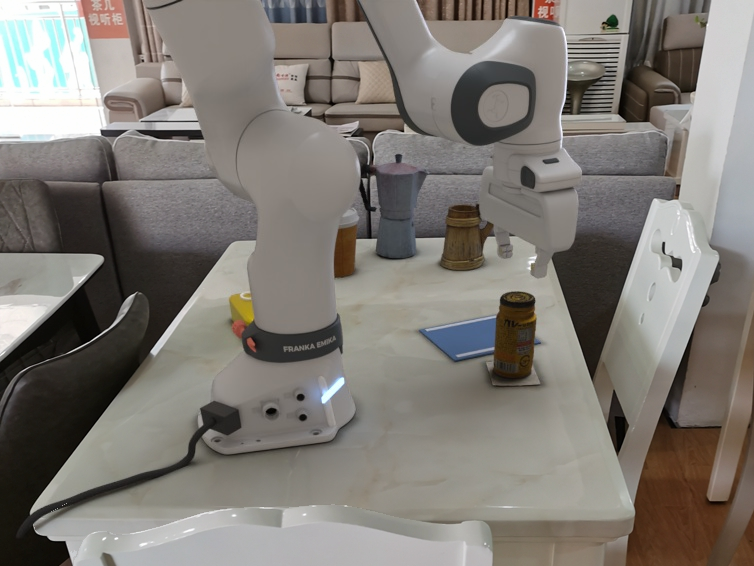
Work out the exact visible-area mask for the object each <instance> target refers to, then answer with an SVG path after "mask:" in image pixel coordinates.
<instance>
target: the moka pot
mask: <svg viewBox="0 0 754 566" xmlns="http://www.w3.org/2000/svg"><path fill="white" fill-rule="evenodd" d="M394 157H395V162H388V163H383V164H381V165H378V164H368V163H365V162H364V163H363V164H362V165H360V171H361V178H360V186H359V190H358V191H359V194H360V197H361V199H362V203H363V206H364V209H365V211H367V212H371V213H375V212H376V211H377V209H378V208H377V207H376V206H371V205H370V202H369V200H368V196H367V191H366V187H365V185H364V180H363V178H362V177H363V175H364V174H367V175H369V176H375V182H376V191H377V199H378V200H377V201H378V205H379V209H378V210H379V212H380V216H379V221H378V222H379V223H378V228H377V229H378V230H377V237H376V243H375V252H376V254H377V255H379V256H381V257H384V258H388V259H407V258H410V257H411V258H412V257H414V256H415V255H416V253H417V241H416V230H415V225H416V224H415V219H414V216H415V208H416V207H417V203H418V197H419V193H420V191H421V189H422V187H423V185H424V182H425V180H426V178H427V176H428V175H430V172H429V170H427V169H426V168H423V167H421V166H418V165H416V164H412V163H407V162H402V160H403V154H401V153H396V154H394Z"/></svg>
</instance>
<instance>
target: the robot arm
mask: <svg viewBox="0 0 754 566" xmlns="http://www.w3.org/2000/svg"><path fill="white" fill-rule="evenodd" d="M141 1H142V3H143V6H144V7H145V9H146V11H147V13H148V16H149V17H150V18H151V21H152V23H153V25H154V27H155V28H156V30H157V32H158V34H159V37H160V38H161V40H162V42H163V44H164V46H165V47H166V50H167V51H168V54H169V55H170V58H171V59H172V62H173V63H174V65H175V68H176V69H177V72H178V73H179V75H180V77H181V79H182V81H183V83H184V85H185V87H186V90H187V93H188V95H189V98H190V101H191V103H192V107H193V110H194V113H195V116H196V119H197V122H198V126H199V128H200V131H201V135H202V137H203V139H204V140H203V150H204V156H205V160H206V163H207V166H208V168H209V170H210V171H211V173H212V174H213V175H214V177H215V178H216V179H217V180H218V181H219V182H220V184H221V185H222V186H224V187H225V189H226V190H228V191H229V192H230V193H231V194H233V195H234V196H235V197H238V198H239V199H242V200H244V201H246V202H249V203H251V204H253V206H254V208H255V211H256V215H257V228H256V239H255V245H254V249H253V251H252V253H251V254H250V255H249V257H248V260H247V263H246V271H247V278H248V279H247V280H248V285H249V291H250V293H251V300H252V307H253V314H254V319H253V321H252V322H251V323H250V324H249V325H248V326H247V325H246V323H245V322H244V321H242V320H236V321H235V322H233V323H232V324H231V330H232V332H233V333H234V334H235V336H236V337H237V338H238V339H241V343H242V347H243V350H242V351H240V353H239V354H237V356H235V357H234V358H233V360H231V362H229V363H228V364H226V366H225V367H224V368H223V369H221V370H220V372H218V373H217V374H216V375H215V376H214V378H213V380H212V383H211V389H210V402H209V403H207V404H205V405H203V406H201V407H199V412H198V415H197V427H198V429H197V430H196V431H195V432H194V433H193V434H192V436H191V438H190V439H189V442H188V447H187V454H186V455H185V456H184V457H182V458H181V460H179V461H177V462H176V463H174V464H172V465H169V466H165V467H162V468H158V469H153V470H148V471H144V472H141V473H137V474H135V475H131V476H128V477H126V478H125V477H124V478H122V479H119V480H115V481H112V482H109V483H106V484H102V485H99V486H95V487H93V488H90V489H87V490H85V491H81V492H80V493H77V494H75V495H73V496H69V497H68V498H64V499H62V500H59V501H55V502H52V503H49V504H47V505H44V506H41V507H40V508H38V509H37V510H35V511H33V512H32V513H31V514H30V515H29V516H27V518H26V519H25V520H24V521H23V522H22V524H21V525H20V527H19V529H18V530H17V532H16V535H15V538H16V539H23V538H24V537H26V536H27V535H28V532H29V530H30V529H31V528H32V526H33V525H35V523H36V522H37V521H39V520H40V519H41V518H43V517H44V516H46V515H48V514H51V513H53V512H56V511H58V510H62V509H64V508H67V507H71V506H73V505H75V504H78V503H81V502H83V501H86V500H88V499H90V498H93V497H96V496H99V495H102V494H105V493H108V492H111V491H115V490H118V489H122V488H124V487H127V486H130V485H133V484H134V485H135V484H136V483H139V482H142V481H146V480H149V479H154V478H155V479H156V478H159V477H162V476H164V475H167V474H170V473H173V472H175V471H178V470H180V469H183V468H185V467H186V466H188V465H189V464H190V463H191V462H192V461H193V460H194V458H195V456H196V452H197V450H196V449H197V444H198V442H199V441H200V439H201V438H202V440H203V442H204V443H205V444H206V445H207V446H208V447H209V448H210V449H212V450H214V451H215V452H217V453H219V454H222V455H235V454H243V453H251V452H258V451H266V450H274V449H281V448H290V447H296V446H305V445H311V444H319V443H320V444H321V443H327V442H331V441H333V439H335V437H336V436H337V433H338V431H339V430H340V429H341V428H342V427H344V426H345V425H346V424H348V423H349V422H350V421H351V420H352V419H353V418H354V416H355V414H356V412H357V411H356V410H357V409H356V404H355V402H354V399H353V397H352V394H351V391H350V388H349V385H348V380H347V376H346V373H345V367H344V362H343V357H342V355H343V354H344V348H343V347H344V346H343V345H344V333H343V326H342V322H341V321H342V320H341V315H340V314H339V313H337V310H338V309H337V298H336V280H335V277H334V251H335V243H336V238H337V233H338V228H339V224H340V221H341V218H342V216H343V215H344V214H345V213H346V212H347V211H348V209H349V208H350V207H352V206H353V204H354V202H355V200H356V199H357V197H358V193H359V191H360V190H359V186H360V178H362V177H361V171H360V169H361V164H360V160H359V157H358V154H357V152H356V150H355V148H354V146H353V145H352V143H351V142H350V141H349V140H348V139H347V138H346V137H344V136H343V135H342V134H341V133H340V132H338V131H337V130H336V129H335V128H333V127H331V126H330V125H329V124H327V123H326V122H324V121H322V120H321V119H318V118H315V117H311V116H307V115H303V114H300V113H299V114H298V113H295V112H292V110H290V108H289V107H288V106H287V104H286V102H285V101H284V99H283V97H282V93H281V91H280V86H279V83H278V78H277V73H276V68H275V61H274V60H275V59H274V55H275V52H276V48H277V40H276V35H275V31H274V28H273V27H272V24H271V22H270V20H269V17H268V14H267V13H266V10H265V7H264V6H263V2H262V1H261V0H141ZM355 1H356V4H357V5H358V7H359V10H360V11H361V14H362V16H363V18H364V20H365V22H366V24H367V26H368V29H369V30H370V32H371V34H372V36H373V38H374V40H375V42H376V44H377V46H378V48H379V50H380V52H381V55H382V56H383V59H384V61H385V63H386V65H387V68H388V71H389V75H390V78H391V84H392V89H393V95H394V100H395V105H396V108H397V112H398V113H399V117H400V118H401V120H402V121H403V122H404V124H405V126H407V127H408V128H409V129H410V130H411V131H413V132H414V133H416V134H418V135H420V136H427V137H434V138H441V139H444V140H447V141H451V142H454V143H459V144H462V145H466V146H470V147H483V146H489V145H492V144H493V150H492V152H491V153H490V155H489V157H488V158H487V160H486V167H485V168H484V169H483V171H482V175H481V181H480V191H479V201H478V203H479V210H480V214H481V215H480V217H481V219H482V220H484V221H486V222H487V221H488V222H490V223H492V224H494V227H493V229H492V230H493V234H494V238H495V242H496V245H497V246H496V247H497V248H496V249H497V250H496V255H497V256H498V257H499V258H501V259H503V260H507V259H511V258H513V253H514V252H513V250H514V245H513V244H512V243H511V238H510V237H511V236H510V234H511V235H513V236H515V237H517V238H519V239H521V240H523V241H525V242H527V243H529V245H532V246H534V247H535V248H534V250H535V251H534V253H535V254H536V257H535V260H534V262H531V263H530V272H529V273H530V275H531V276H532V277H533V278H535V279H543V278H545V277H546V276H547V274H548V265H549V264H550V262H551V260H552V258H553V256H554V253H559V252H564V251H568V250H570V248H571V247H572V245H573V244H574V243H575V238H576V234H577V233H576V232H577V225H578V213H579V195H578V191H577V190H576V188H575V187H579V186H580V185H581V184H582V179H583V171H582V168H581V167H580V166H579V164H577V163H576V162H575V161H574V159H573V158H572V157H571V156H570V154H569V153H568V152H567V150H566V149H565V147H563V136H564V135H563V133H564V132H563V127H562V112H563V110H564V109H563V108H564V105H565V103H566V97H567V85H568V63H569V62H568V60H569V59H568V58H569V57H568V44H567V42H568V41H567V37H566V32H565V29H564V27H562V25H561V24H560V23H558V22H557V21H555V20H553V19H548V18H542V17H533V16H527V15H510V16H508V17H507V18H504V20H503V22H502V24H501V26H500V28H499V29H498V30H497V31H496V32H495V33H494V34H493V35H492V36H491V37H490V38H489V39H487V40H486V41H485V42H483V43H482V44H481V45H479V46H477V47H476V48H475V49H472V50H470V51H469V53H465V52H464V53H463V52H458V51H453V50H450V49H448V48H447V47H445V46H444V45H443V44H442V43H440V42H439V41H438V40H436V39H435V37H434V36H433V35H432V33H431V31H430V29H429V27H428V25H427V24H428V23H427V22H426V19H425V18H424V14H423V13H422V11H421V9H420V6H419V4H418V0H355ZM66 503H67V504H66ZM64 504H65V505H64ZM62 505H63V506H62ZM57 508H58V509H57ZM55 509H56V510H55ZM53 510H54V511H53ZM51 511H52V512H51Z"/></svg>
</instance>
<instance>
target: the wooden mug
mask: <svg viewBox="0 0 754 566" xmlns="http://www.w3.org/2000/svg"><path fill="white" fill-rule="evenodd" d="M444 222H445V224H446V225H445V234H444V240H443V241H444V242H443V249H442V253H441V256H440V265H441V266H442V268H445V269H448V270H452V271H453V270H454V271H468V270H469V271H470V270H475V269H477V268H480V267H481V266H483V265H484V262H485V254H484V247H485V243H486V242H487V239H488V237H489V236H490V234H491V232H492V230H494V224H492V223H490V222H488V221H486V225H485V226H484V227H482V228H481V226H480V224H481V223H482V222H483V218H482V217H481V214H480V210H479V202H476V204H475V205H472V204H464V203H463V204H453V205H450V206H448V210H447V214H446V216H445V221H444Z"/></svg>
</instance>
